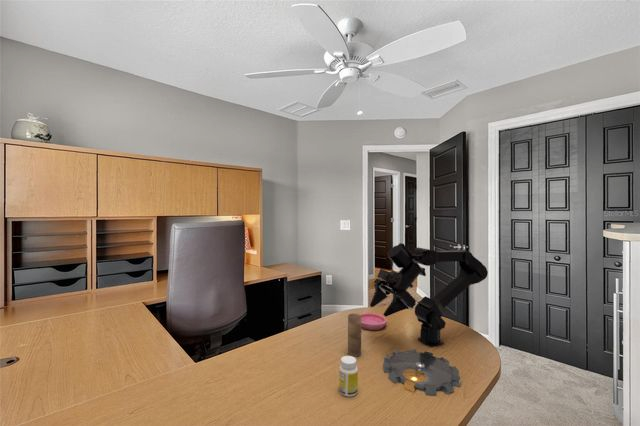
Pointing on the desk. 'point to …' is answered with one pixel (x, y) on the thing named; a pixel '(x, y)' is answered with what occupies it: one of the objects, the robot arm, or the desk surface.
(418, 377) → the sprocket plate
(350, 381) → the supplement bottle
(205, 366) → the desk surface
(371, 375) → the desk surface
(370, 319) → the saucer
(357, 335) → the pin
